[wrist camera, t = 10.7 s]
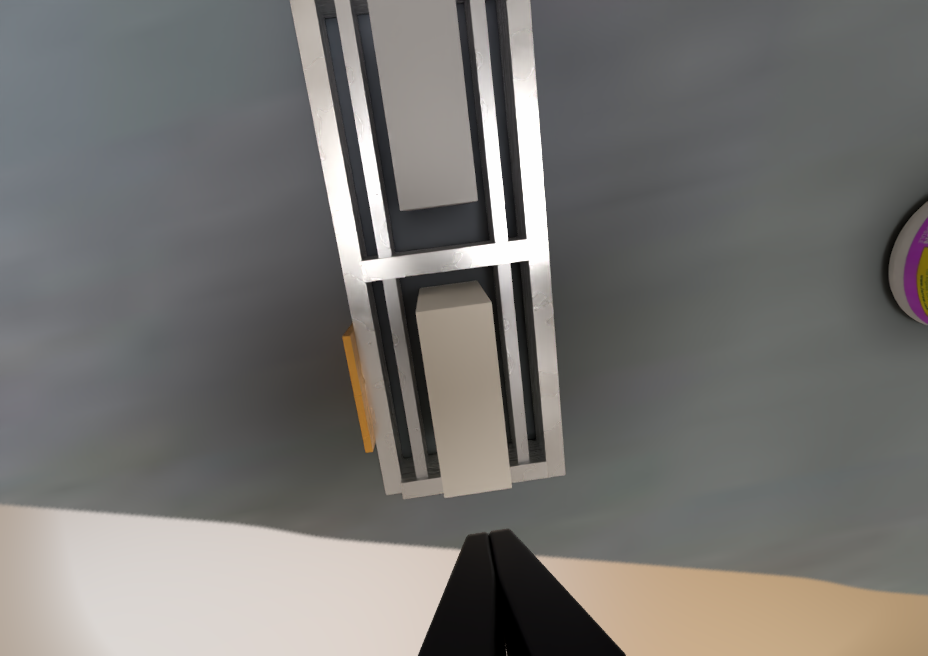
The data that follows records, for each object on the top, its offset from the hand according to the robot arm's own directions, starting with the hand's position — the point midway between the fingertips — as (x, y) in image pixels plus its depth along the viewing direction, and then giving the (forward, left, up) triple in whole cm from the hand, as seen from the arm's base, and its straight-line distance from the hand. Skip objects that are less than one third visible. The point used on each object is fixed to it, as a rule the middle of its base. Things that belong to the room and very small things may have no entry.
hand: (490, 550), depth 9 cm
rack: (0, -5, -12) cm, 13 cm away
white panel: (0, 0, -12) cm, 12 cm away
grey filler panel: (0, -10, -12) cm, 15 cm away
